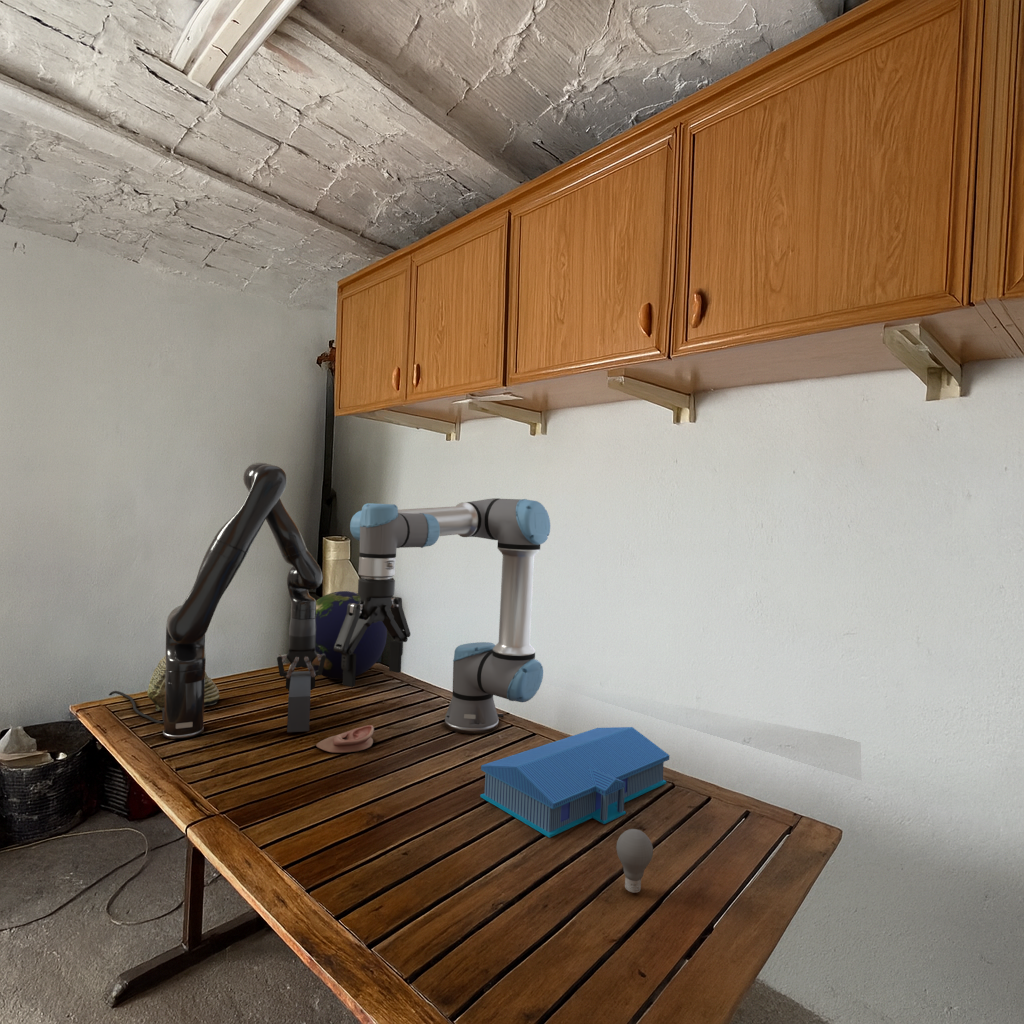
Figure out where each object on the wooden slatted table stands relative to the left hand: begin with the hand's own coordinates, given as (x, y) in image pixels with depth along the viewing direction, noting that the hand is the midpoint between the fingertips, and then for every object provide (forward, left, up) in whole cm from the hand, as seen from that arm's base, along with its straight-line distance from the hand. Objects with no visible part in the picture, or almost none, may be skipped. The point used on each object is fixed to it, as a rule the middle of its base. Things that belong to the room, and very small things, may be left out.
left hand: (300, 689), depth 187 cm
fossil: (-22, -25, -6) cm, 34 cm away
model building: (+87, +25, -6) cm, 91 cm away
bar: (+8, -4, -5) cm, 10 cm away
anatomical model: (+32, -3, -6) cm, 33 cm away
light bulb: (+116, +4, -6) cm, 116 cm away
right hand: (+61, -13, +20) cm, 65 cm away
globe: (-22, +25, -6) cm, 34 cm away
